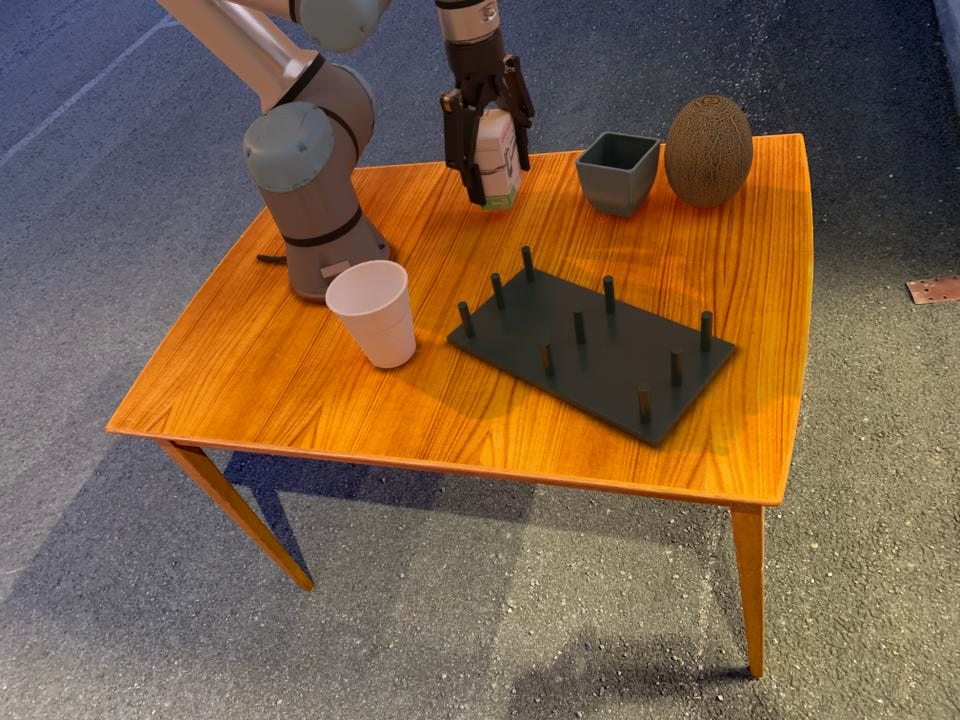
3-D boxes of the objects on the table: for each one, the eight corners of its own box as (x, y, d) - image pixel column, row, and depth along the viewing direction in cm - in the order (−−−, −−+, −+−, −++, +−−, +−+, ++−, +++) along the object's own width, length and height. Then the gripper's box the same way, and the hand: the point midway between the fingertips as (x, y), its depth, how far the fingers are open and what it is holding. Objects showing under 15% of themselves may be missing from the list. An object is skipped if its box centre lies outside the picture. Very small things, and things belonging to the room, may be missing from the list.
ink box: (512, 210, 102) (499, 137, 93) (480, 211, 103) (464, 138, 95) (523, 178, 107) (512, 106, 99) (492, 179, 109) (478, 108, 100)
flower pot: (608, 184, 105) (604, 129, 98) (663, 194, 100) (662, 138, 94) (579, 217, 100) (572, 162, 94) (635, 229, 96) (632, 172, 89)
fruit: (751, 223, 92) (760, 117, 81) (663, 226, 95) (661, 125, 84) (747, 175, 99) (755, 73, 89) (666, 180, 102) (664, 82, 92)
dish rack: (447, 342, 87) (436, 307, 83) (527, 270, 94) (520, 234, 90) (656, 448, 70) (655, 410, 66) (735, 350, 77) (738, 310, 73)
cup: (342, 354, 90) (311, 289, 82) (405, 315, 93) (380, 249, 85) (379, 394, 83) (349, 328, 76) (446, 350, 86) (423, 282, 79)
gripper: (432, 75, 81) (469, 231, 97) (548, 1, 91) (565, 154, 107) (390, 66, 86) (432, 217, 101) (505, -4, 95) (527, 144, 111)
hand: (500, 185), depth 104 cm, fingers closed on ink box, 9 cm apart
